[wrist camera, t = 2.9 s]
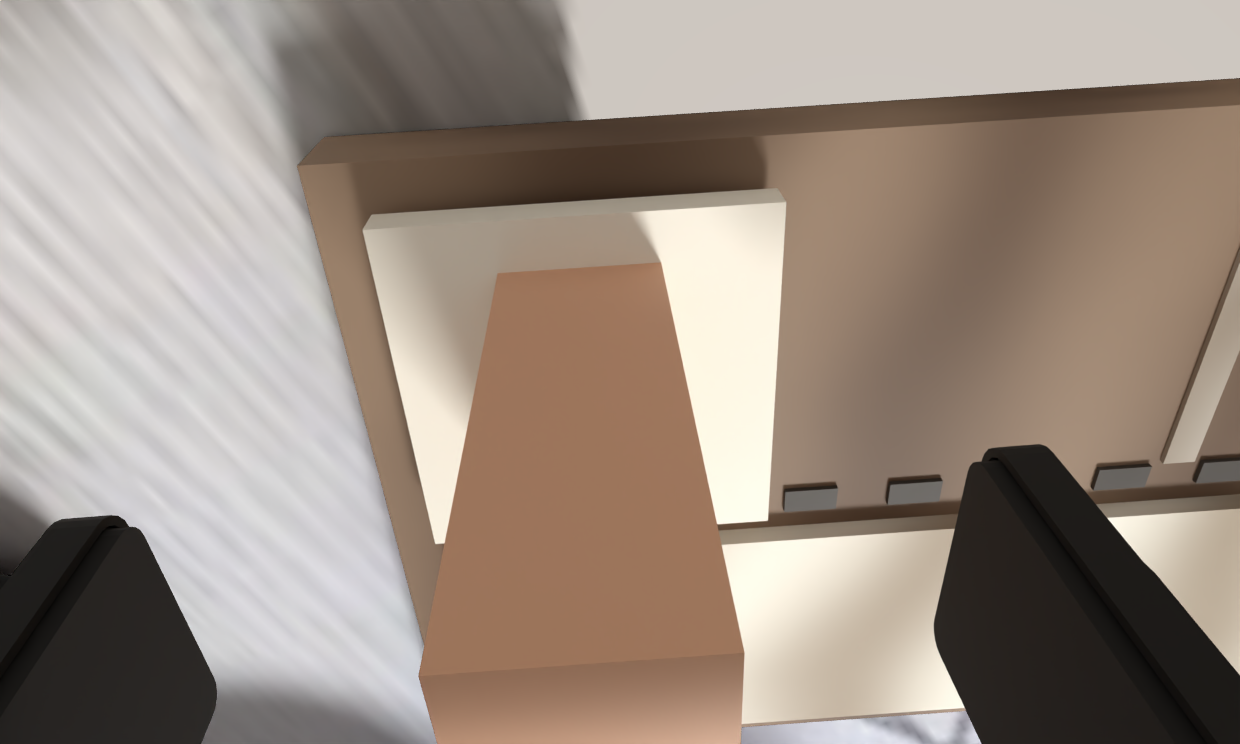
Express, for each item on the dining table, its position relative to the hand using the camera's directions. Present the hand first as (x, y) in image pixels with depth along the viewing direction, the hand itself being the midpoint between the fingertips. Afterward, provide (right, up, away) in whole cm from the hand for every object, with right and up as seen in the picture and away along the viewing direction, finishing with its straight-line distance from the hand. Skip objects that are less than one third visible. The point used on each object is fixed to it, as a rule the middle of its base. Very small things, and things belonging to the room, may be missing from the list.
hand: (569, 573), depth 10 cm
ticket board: (+6, +1, +7) cm, 10 cm away
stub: (0, +2, +4) cm, 5 cm away
